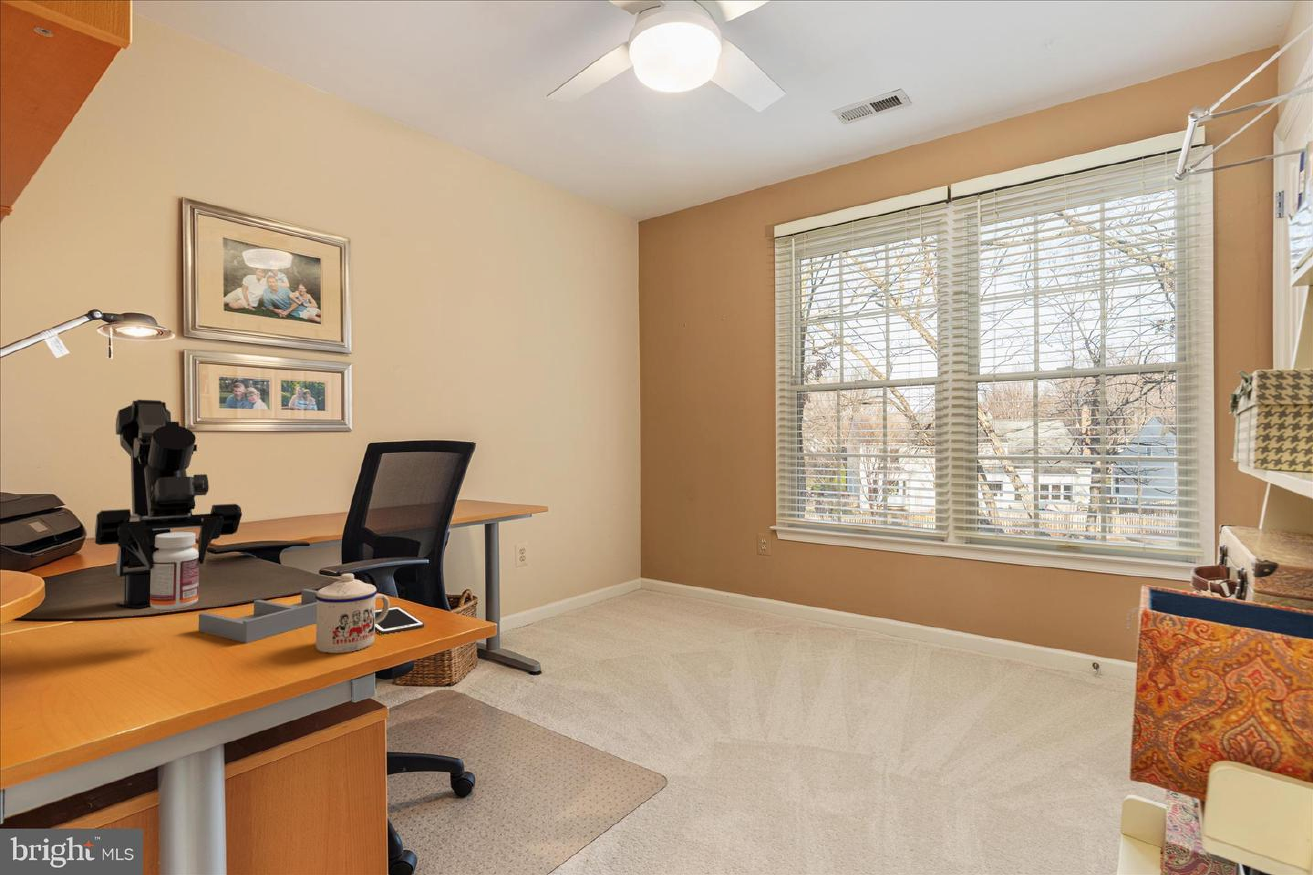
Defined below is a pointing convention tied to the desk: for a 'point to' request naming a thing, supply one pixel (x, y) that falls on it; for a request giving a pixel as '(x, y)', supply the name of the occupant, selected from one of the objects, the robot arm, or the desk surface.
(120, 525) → the robot arm
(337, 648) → the teacup with lid
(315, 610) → the tray
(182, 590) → the pill bottle
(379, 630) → the cell phone
